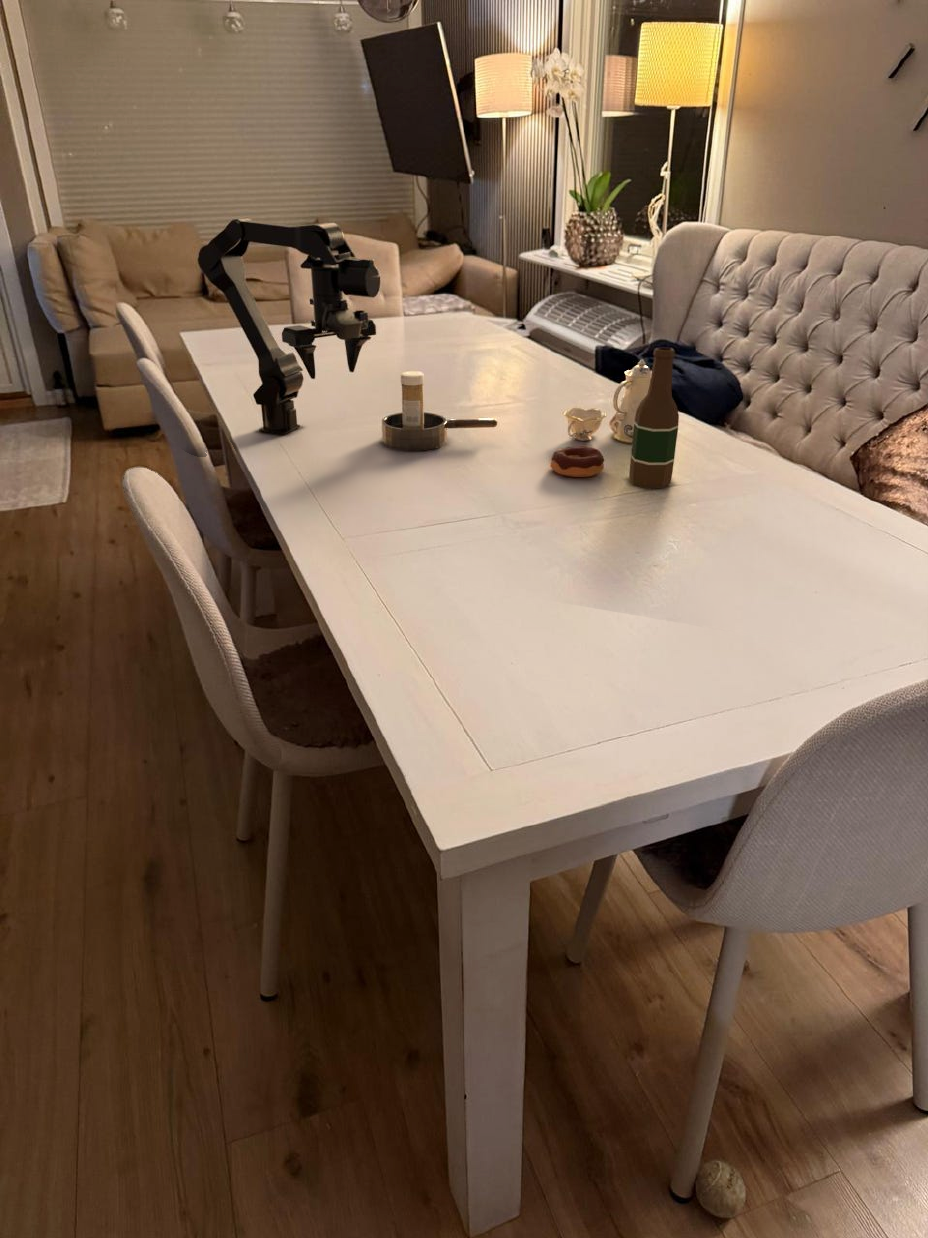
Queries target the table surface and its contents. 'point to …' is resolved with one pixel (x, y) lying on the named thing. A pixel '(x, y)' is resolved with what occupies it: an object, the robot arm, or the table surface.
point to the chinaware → (624, 418)
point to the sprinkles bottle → (412, 400)
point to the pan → (414, 433)
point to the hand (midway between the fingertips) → (332, 375)
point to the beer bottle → (655, 427)
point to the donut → (577, 461)
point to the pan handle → (471, 423)
